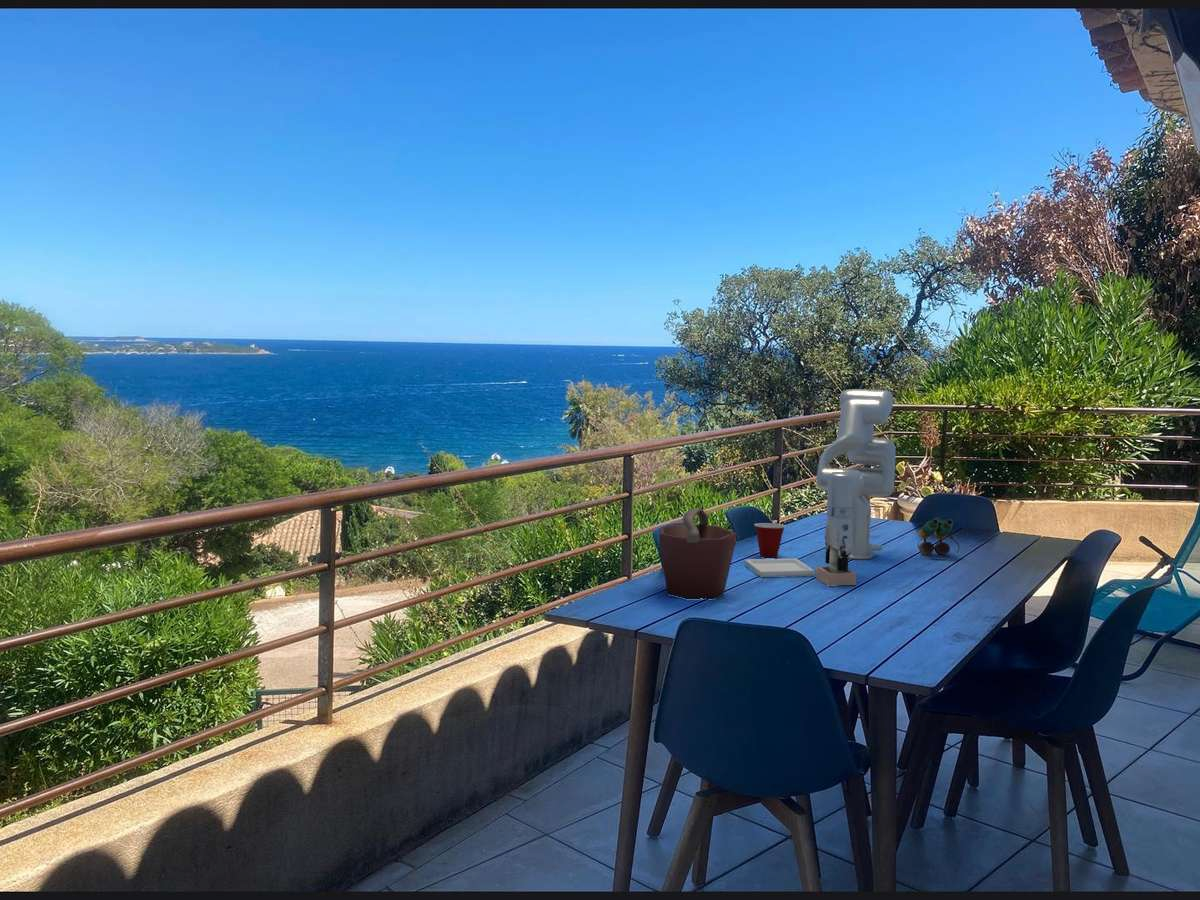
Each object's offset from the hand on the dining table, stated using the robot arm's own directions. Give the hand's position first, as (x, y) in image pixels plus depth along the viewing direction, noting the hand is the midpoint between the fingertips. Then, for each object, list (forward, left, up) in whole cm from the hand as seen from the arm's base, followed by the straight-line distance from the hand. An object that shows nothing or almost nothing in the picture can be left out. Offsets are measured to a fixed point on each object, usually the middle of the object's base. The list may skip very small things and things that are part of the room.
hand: (836, 566), depth 256 cm
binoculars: (-51, -30, -5) cm, 59 cm away
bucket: (+48, +7, -5) cm, 49 cm away
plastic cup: (+10, -33, -5) cm, 35 cm away
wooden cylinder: (0, 0, -5) cm, 5 cm away
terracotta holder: (0, 0, -5) cm, 5 cm away
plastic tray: (+13, -15, -5) cm, 20 cm away
